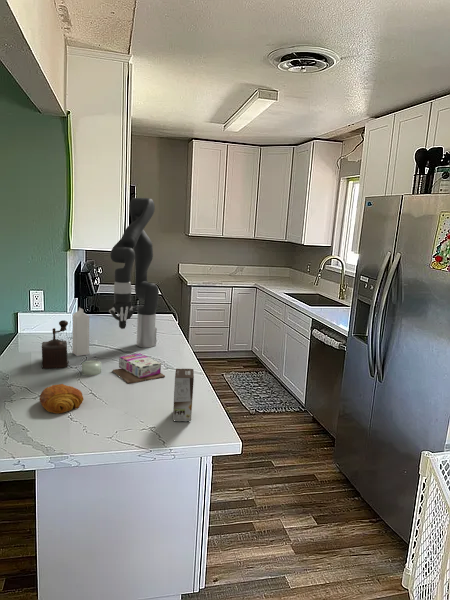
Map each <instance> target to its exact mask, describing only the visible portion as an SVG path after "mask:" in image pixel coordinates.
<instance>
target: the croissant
mask: <svg viewBox="0 0 450 600" xmlns="http://www.w3.org/2000/svg"><path fill="white" fill-rule="evenodd" d="M39 402H40V404H41V406H42V408H43V409H44V410H46V412H47V413H53V414H56V415H57V414H62V413H66V412H69V411H72V410H76V409H75V408H77V409H78V408H79V407H80V406H82V404H83V402H84V396H83V392H82V391H81V390H80V389H78V388H76V387H74V386H71V385H65V384H63V383H60V384H52V385H51V386H47V387H45V388H44V389H43V390H42V391H41V393H40V395H39ZM73 408H74V409H73Z"/></svg>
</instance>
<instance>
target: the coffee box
mask: <svg viewBox="0 0 450 600" xmlns="http://www.w3.org/2000/svg"><path fill="white" fill-rule="evenodd" d="M194 375H195V374H194V368H176V369H175V375H174V391H173V407H172V408H173V410H172V411H173V412H172V413H173V414H172V421H173V420H175V421H191V422H192V413H193V412H192V411H193V399H194V396H193V394H194V382H195V381H194V378H195V376H194Z"/></svg>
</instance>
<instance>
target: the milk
mask: <svg viewBox="0 0 450 600" xmlns="http://www.w3.org/2000/svg"><path fill="white" fill-rule="evenodd" d="M72 353H73V354H74V355H75V356H76V357H79V356H86V355H90V315H88V314H87V313H85V312H84V309H83V308H81V307H78V310H76V311H75V312H74V313H73V314H72Z"/></svg>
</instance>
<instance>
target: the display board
mask: <svg viewBox="0 0 450 600" xmlns="http://www.w3.org/2000/svg"><path fill="white" fill-rule="evenodd" d="M112 372H113V373H114V374H116V375H117V376H118V377H119V376H120V377H119V378H120V379H122V380H123V381H124V382H125V383H127V384H129V385H130V384H134V383H140V382H145V380H146V381H151V379H152V380H156V379H162V378H165V377H166V375H165V374H163V373H162V372H161V373H160V374H156V375H151V376H147V377H143V378H138V377H136V376H135V375H133V374H131V373H129V372H127V371H126V370H124V369H122V368H117V369H112Z"/></svg>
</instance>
